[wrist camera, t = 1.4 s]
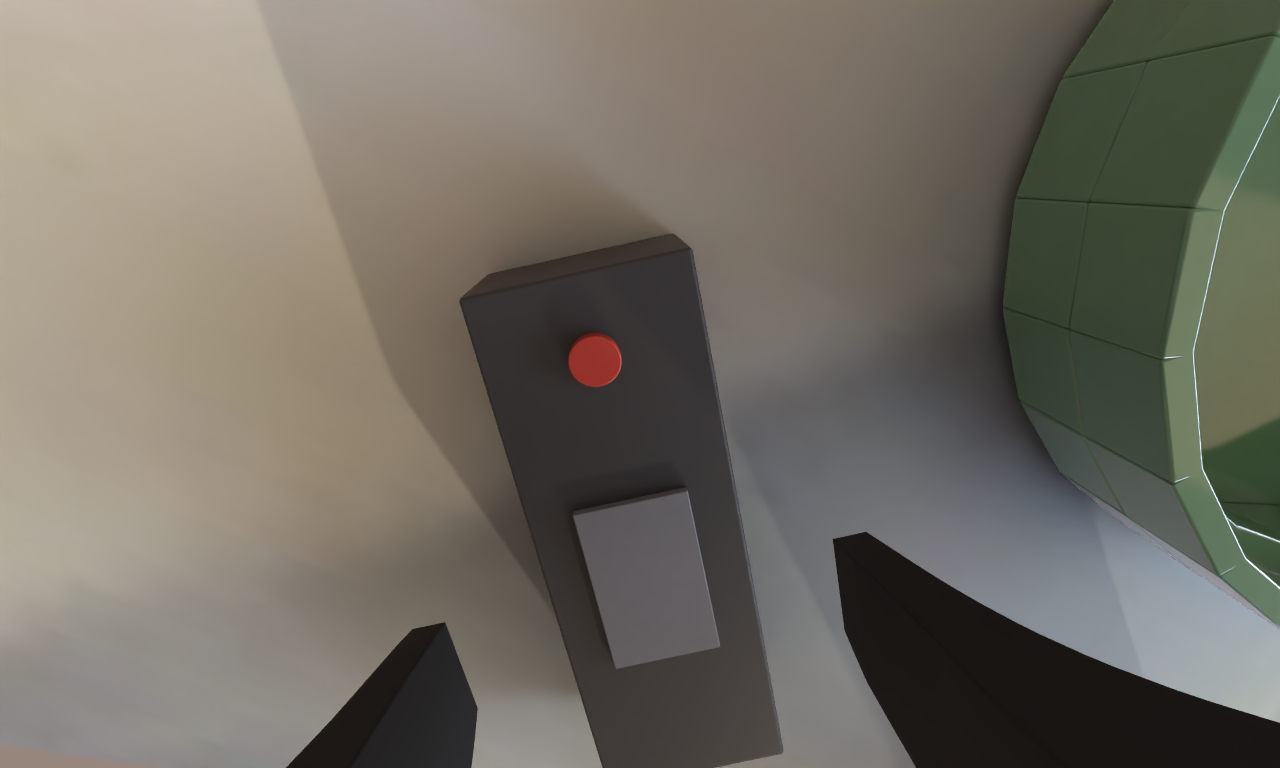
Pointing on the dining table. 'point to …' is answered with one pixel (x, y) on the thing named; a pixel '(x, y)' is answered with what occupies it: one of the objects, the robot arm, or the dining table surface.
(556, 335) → the remote
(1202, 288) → the bowl
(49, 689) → the dining table surface
